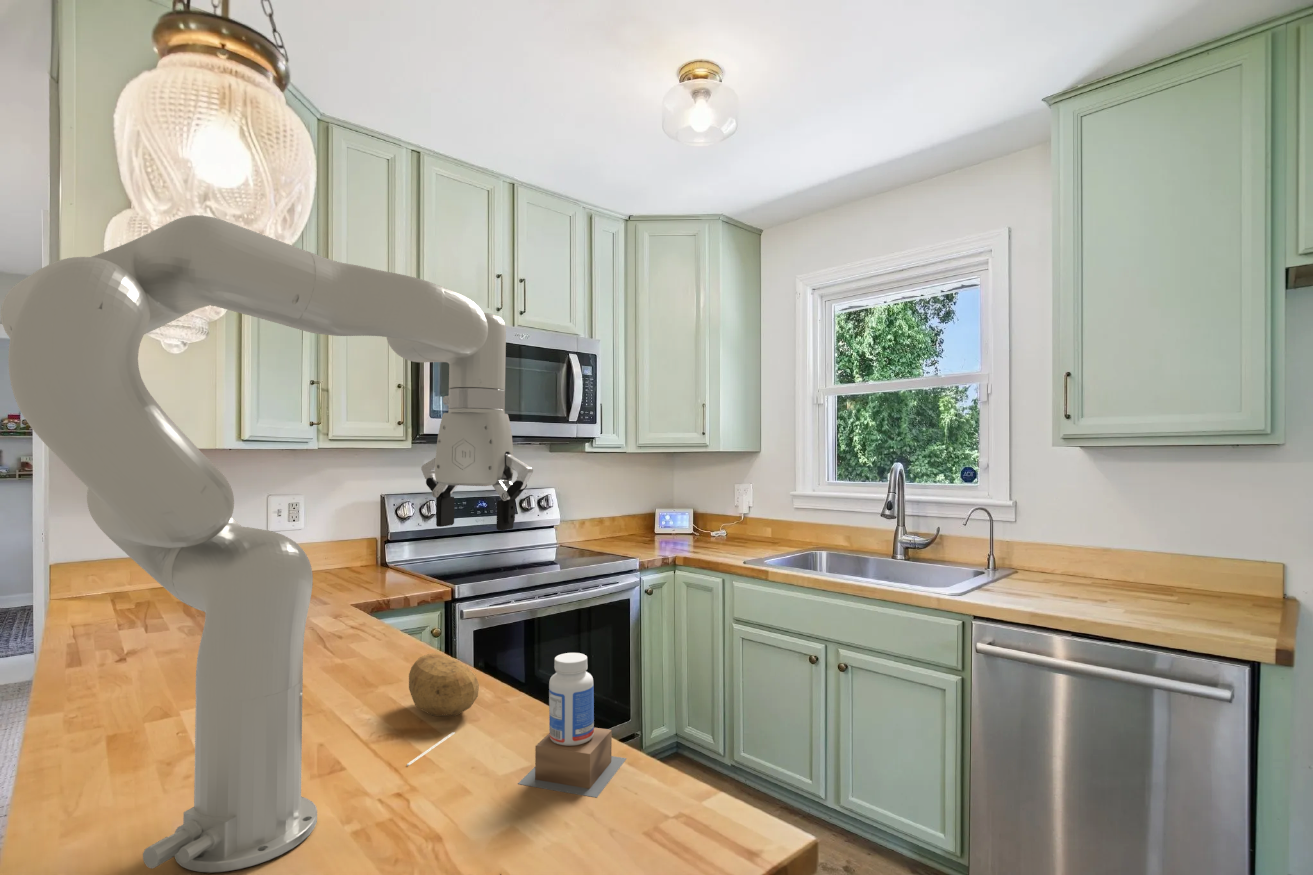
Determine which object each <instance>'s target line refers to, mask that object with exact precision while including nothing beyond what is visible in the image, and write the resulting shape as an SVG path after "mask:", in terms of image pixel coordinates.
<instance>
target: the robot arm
mask: <svg viewBox="0 0 1313 875" xmlns="http://www.w3.org/2000/svg"><path fill="white" fill-rule="evenodd" d="M210 306H211V307H216V308H219V309H224V310H228V311H231V312H234V313H239V314H242V315H246V316H251V317H254V318H258V319H261V320H265V321H269V322H271V323H276V324H279V325H283V326H286V327H290V328H293V329H297V330H299V331H303V332H306V333H311V334H318V335H325V336H334V337H335V336H336V337H359V336H360V337H364V336H365V337H382V338H386V340H387V343H388V345H389V347H390V348H391V350H392V351H393V352H394V353H395V354H396V355H398V356H399V357H401V358H403V359H404V360H406V361H410V362H414V363H446V364H448V365H449V366H448V374H449V375H448V395H444V396H443V397H442V402H443V404H444V406H448V412H443V413H442V417H441V421H440V424H439V429H438V434H437V442H436V450H435V457H433V458H432V459H431V460H429V461H428V462H426V463H424V464H422V466H421V472H422V475H423V476H424V479H425V484H426V486H427V487H428V489H429V490H430V491H431V495H432V497H433V498H436V499H435V518H436V519H435V522H436V523H435V525H436V527H437V528H439V527H440V528H441V527H448V526H453V525H454V524H455V510H456V509H455V506H456V505H455V504H456V503H455V499H456V498H455V496H452V494H453V493H454V491H455V490H456V488H457V487H458V486H463V487H465V486H467V487H468V486H470V487H487V486H488V487H490V486H492V487H493V489H494V490H495V491H496V494H498V495H499V497H500V500H497V502H496V530H498V531H506V530H511V529H513V528H514V524H515V521H516V520H515V519H516V500H518V499H519V498H520V495H521V494H522V493H523V492H524V491H525V489H526V488H527V486H528V483H529V481H530V479H531V477H532V475H533V472H534V469H533V468H532V467H531V466H529V465H528V464H526V463H525V462H523V461H521V460H520V459H518V458H516V457H515V456H514V445H513V436H512V435H513V434H512V429H511V428H512V426H511V421H510V418H509V414H508V413H506V411H505V409H506V407H505V406H506V398H505V397H506V353H507V351H506V350H507V349H506V348H507V347H506V346H507V343H506V342H507V340H506V339H507V326H506V322H505V321H504V319H503V318H502V317H500V316H499V315H496V314H493V313H489V312H483V310H482V309H481V308H480V306H479V305H478V304H476V302H474V301H473V300H471V299H470V298H469V297H467V296H465V295H464V294H461V293H459V292H456V291H454V290H452V289H449V288H447V287H445V286H444V287H443V286H442V285H439V284H436V283H433V282H430V281H428V280H424V279H421V278H418V277H414V276H409V275H405V274H403V273H402V274H401V273H396V272H392V271H391V272H390V271H385V270H381V269H380V270H379V269H375V268H371V267H368V266H367V267H366V266H362V265H359V264H358V265H357V264H352V263H345V262H340V261H336V260H333V259H330V258H328V257H324V256H321V255H319V254H316V253H313V252H311V251H308V250H306V249H302V248H299V247H298V246H294V245H291V244H289V243H286V242H284V241H281V240H278V239H276V238H273V237H269V236H267V235H265V234H262V233H259V232H256V231H254V230H251V229H248V228H246V227H243V226H240V225H238V224H234V223H232V222H229V221H226V220H223V219H221V218H217V217H214V216H207V215H201V214H199V215H197V214H196V215H195V214H193V215H186V216H182V217H180V218H177V219H174V220H173V221H170V222H168V223H166V224H164V225H162V226H160V227H158V228H156V229H154V230H152V231H151V232H148V233H145V235H142V236H140V237H137V238H135V239H133V240H131V241H129V242H126V243H124V244H121V245H119V246H116V247H113V248H112V249H109V250H106V251H104V252H100V253H98V254H95V255H93V256H74V257H68V258H63V259H60V260H56V261H54V262H50V263H49V264H47V265H46V266H45V265H44V266H43V267H41V268H39V269H38V270H36V271H35V272H33V273H31V274H30V275H29V276H27V277H25V278H23V279H22V280H21V281H18V282H17V283H15V285H14V286H13V287H11V288H10V289H9V291H7V294H5V296H4V298H3V300H2V303H1V309H0V318H1V324H2V327H3V330H4V331H5V333H6V335H7V337H9V345H8V372H9V373H8V374H9V379H10V380H9V382H10V385H11V389H12V393H13V396H14V400H15V402H16V404H17V406H18V409H19V410H20V413H21V414H22V416H23V417H24V419H25V421H26V422H27V424H28V425H29V426H30V428H31V429H32V430H33V432H34V433H35V434H36V435H37V437H39V439H40V440H41V441H42V442H43V443H44V444H45V446H47V447H48V449H49V450H50V451H51V452H52V453H53V454H55V455H56V457H57V458H58V459H60V461H61V462H63V464H65V466H66V467H67V468H68V469H69V470H70V471H71V472H72V473H73V475H74V476H76V477H77V479H79V480H80V481H81V483H83V484H84V485H85V486H86V487H87V491H86V503H87V507H88V508H87V509H88V512H89V514H90V516H91V518H92V520H93V522H95V524H96V526H97V527H98V528H99V529H100V530H101V531H102V532H103V534H104V535H106V537H108V539H110V540H111V541H112V542H113V543H114V544H115V545H116V546H117V547H118V548H119V549H120V550H122V552H124V553H125V554H126V555H127V556H128V557H129V558H131V560H133V562H135V563H136V564H137V565H138V566H139V567H140V568H141V569H143V570H144V571H145V572H146V574H148V575H149V576H150V577H152V579H154V580H155V581H156V582H157V583H158V584H160V585H161V587H162V588H164V589H165V590H166V591H167V592H169V593H170V595H172V596H173V597H174V598H176V599H178V600H179V601H180V602H182V603H183V604H185V605H187V606H189V607H191V608H194V609H195V610H198V611H201V612H204V614H205V615H204V617H205V618H204V619H205V620H204V624H203V629H202V634H201V638H200V641H199V642H200V643H199V646H198V652H197V658H196V670H195V717H194V718H195V725H194V726H195V728H194V731H195V732H194V734H195V735H194V738H195V739H194V781H193V782H194V790H193V791H194V792H193V798H194V799H193V806H192V807H191V808H189V809H186V810H185V811H183V818H182V819H183V824H181V825H180V826H178V827H176V830H175V832H174V833H172V834H170V835H169V836H165V837H164V838H162V839H160V840H159V841H156V842H154V843H153V844H151V845H150V846H147V847H146V848H145V849H144V851H143V852H142V859H143V862H144V864H145V866H146V867H147V868H149V869H151V870H152V869H155V868H156V867H158V866H160V865H162V864H164V863H165V862H167V861H168V860H170V859H172V858H175V859H174V860H175V861H176V863H177V864H178V865H179V866H181V867H182V868H185V869H187V870H189V871H194V872H198V873H223V872H224V873H225V872H229V871H230V872H231V871H235V870H237V871H239V870H241V869H245V868H249V867H253V866H257V865H259V864H262V863H265V862H268V861H271V860H273V859H275V858H277V857H279V856H281V855H283V854H285V853H287V852H289V851H290V850H292V849H294V848H295V847H297V846H298V845H299V844H301V843H302V842H304V841H305V840H306V838H308V836H310V835H311V833H312V832H313V831H314V829H315V827H316V825H317V824H318V809H317V806H316V804H315V803H314V802H313V801H312V800H310V799H309V798H307V797H304V796H302V755H303V753H302V752H303V751H302V749H303V747H302V746H303V740H302V739H303V684H304V683H303V682H304V681H303V679H304V678H303V676H304V674H303V673H304V672H303V671H304V670H303V669H304V667H303V666H304V644H305V642H304V641H305V633H306V632H305V630H306V623H307V619H308V618H307V617H308V612H309V607H310V603H311V598H312V592H313V584H314V582H313V580H314V579H313V575H314V574H313V570H312V569H313V568H312V564H311V561H310V559H309V557H308V555H307V554H306V551H305V550H304V549H303V548H302V547H301V545H299V544H298V543H297V542H296V541H294V540H293V539H291V537H290V538H289V537H288V536H286V535H284V534H282V533H279V532H276V531H273V530H272V531H271V530H267V529H263V528H262V529H261V528H255V527H249V526H242V525H241V524H239V522H238V521H236V520H235V519H234V517H232V516H233V513H234V509H235V508H234V507H235V498H234V496H235V495H234V491H233V489H232V488H233V487H231V485H230V483H229V481H228V479H227V477H226V476H225V474H223V473H222V471H221V470H220V469H219V468H218V467H217V466H216V465H215V464H214V463H213V462H212V460H210V458H208V457H207V456H206V455H205V454H204V453H203V452H202V451H201V450H200V449H199V448H198V447H197V446H196V445H195V443H193V441H192V440H191V439H190V438H189V437H188V436H187V435H186V434H185V433H184V432H183V431H182V430H181V429H180V427H179V426H178V425H177V424H176V423H175V422H174V421H173V420H172V419H171V418H170V417H169V415H167V414H166V412H165V411H164V409H163V408H162V407H161V405H160V404H159V403H158V402H157V401H156V399H155V398H154V397H153V396H152V394H151V393H150V391H149V390H148V389H147V386H146V385H145V383H144V380H143V378H142V376H141V371H140V367H139V351H140V350H139V349H140V346H141V342H142V340H143V338H144V336H145V335H146V334H148V333H151V332H153V331H155V330H157V329H159V328H161V327H164V326H165V325H168V324H169V323H171V322H173V321H176V320H177V319H180V318H182V317H184V316H186V315H188V314H190V313H192V312H195V311H196V310H198V309H202V308H205V307H210ZM514 471H515V472H516V473H517V476H516V480H515V481H514V482H512V480H513V478H514Z"/></svg>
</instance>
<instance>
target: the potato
mask: <svg viewBox="0 0 1313 875" xmlns="http://www.w3.org/2000/svg"><path fill="white" fill-rule="evenodd" d="M476 675H477V674H475V673H474V671H472V669H471V668H470V667H469V666H468V665H467V664H465V663H463V662H461V661H459V660H457V659H455V658H452V656H451V657H450V656H448V655H446V654H442V653H441V654H440V653H428V654H424V655H422V656H420V657H419V658H418V659H417V660H416V661H415V662H414V663H413V664H412V666H411V668H410V671H409V673H408V690H409V693H410V696H411V698H412V700H413V703H414V705H415V706H416V707H417V708H418V709H420V710H421V711H423V712H425V713H426V714H429V715H431V716H434V717H439V716H440V717H441V716H456V717H457V716H458V715H460V714H461V713H464V712H465V711H467V710H469V709H471V708H472V705H473V704H474V702H476V700H477V698H478V696H479V686H480V685H479V681H478V678H477V676H476Z"/></svg>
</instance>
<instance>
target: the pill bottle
mask: <svg viewBox="0 0 1313 875" xmlns="http://www.w3.org/2000/svg"><path fill="white" fill-rule="evenodd" d="M553 667H554V671H555V673H554V674H552V675H551V677H550V679H549V681H548V682H549V683H548V689H549V690H548V697H549V698H548V705H549V706H548V708H549V709H548V710H549V711H548V712H549V717H548V718H549V720H548V721H549V727H548V728H549V733H550V739H551V740H552V741H553V742H554V743H556V744H559V745H565V746H575V745H580V744H583V743H586V742H588V741H589V740H590V739H591V738H592V737H593V734H594V727H595V726H594V725H595V721H594V720H595V716H594V715H595V713H594V711H595V710H594V708H595V706H594V705H595V704H594V703H595V698H594V696H595V695H594V694H595V693H594V692H595V691H594V678H593V675H592V674H591V673H590V672H588V671H587V670H588V656H587V655H585V653H580V652H567V653H566V652H565V653H561V654H558V655H556V656H555V657H554V666H553Z"/></svg>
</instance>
